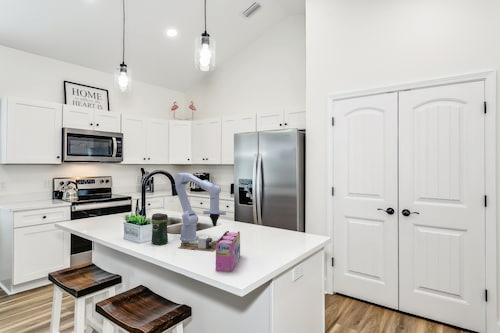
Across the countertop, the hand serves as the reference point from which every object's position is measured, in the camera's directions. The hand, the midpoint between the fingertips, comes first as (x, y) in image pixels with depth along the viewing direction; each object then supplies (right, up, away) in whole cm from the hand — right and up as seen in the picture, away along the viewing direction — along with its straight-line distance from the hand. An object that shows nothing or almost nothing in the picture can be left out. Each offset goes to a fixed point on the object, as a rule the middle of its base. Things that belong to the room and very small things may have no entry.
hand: (214, 225), depth 182 cm
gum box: (+12, -11, -37) cm, 40 cm away
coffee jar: (-34, -10, -3) cm, 35 cm away
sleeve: (-5, -11, -12) cm, 17 cm away
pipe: (-8, -9, -11) cm, 17 cm away
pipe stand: (-8, -11, -11) cm, 17 cm away
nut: (-2, -11, -13) cm, 17 cm away
